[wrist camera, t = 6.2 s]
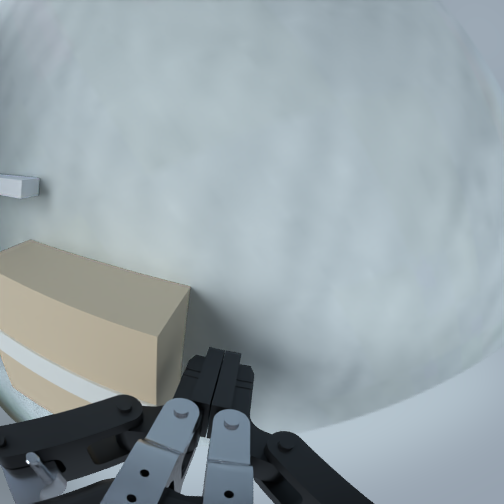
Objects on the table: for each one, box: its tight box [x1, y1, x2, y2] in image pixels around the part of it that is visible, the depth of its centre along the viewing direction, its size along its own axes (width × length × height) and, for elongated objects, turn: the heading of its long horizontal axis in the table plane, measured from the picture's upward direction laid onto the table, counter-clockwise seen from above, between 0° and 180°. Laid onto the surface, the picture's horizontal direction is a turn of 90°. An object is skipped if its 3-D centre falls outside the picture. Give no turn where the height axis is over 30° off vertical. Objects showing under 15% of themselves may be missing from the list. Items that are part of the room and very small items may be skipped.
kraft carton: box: [0, 240, 191, 414], centre depth 12 cm, size 9×11×5 cm
